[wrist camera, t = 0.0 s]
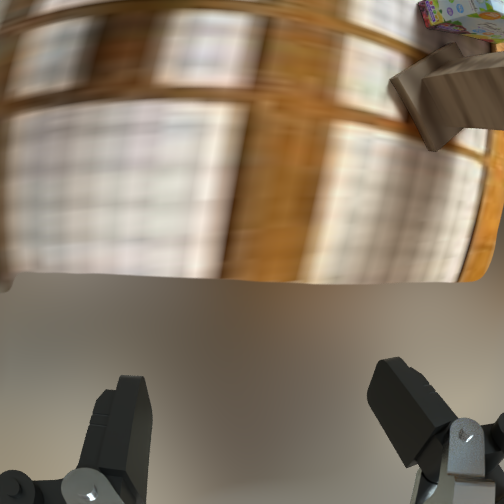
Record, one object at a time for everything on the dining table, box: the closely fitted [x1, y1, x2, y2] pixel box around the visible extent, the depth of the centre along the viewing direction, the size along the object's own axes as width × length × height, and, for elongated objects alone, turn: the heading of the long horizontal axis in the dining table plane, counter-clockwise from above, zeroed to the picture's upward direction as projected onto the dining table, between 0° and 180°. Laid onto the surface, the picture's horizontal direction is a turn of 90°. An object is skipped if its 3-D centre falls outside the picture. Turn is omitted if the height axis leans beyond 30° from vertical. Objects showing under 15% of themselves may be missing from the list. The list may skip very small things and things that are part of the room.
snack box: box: [418, 0, 504, 44], centre depth 24 cm, size 21×6×15 cm, turn 104°
